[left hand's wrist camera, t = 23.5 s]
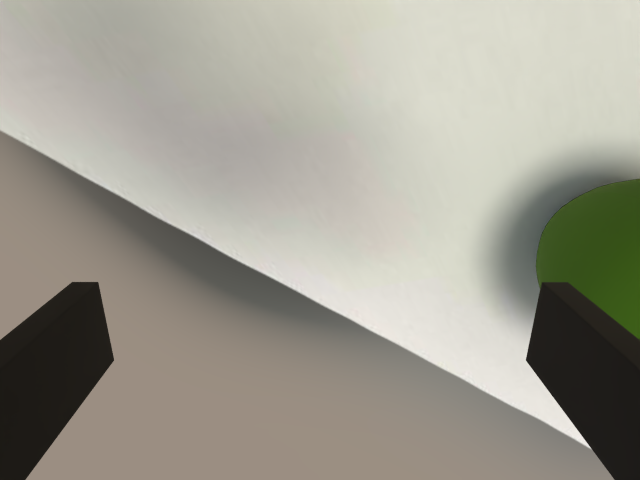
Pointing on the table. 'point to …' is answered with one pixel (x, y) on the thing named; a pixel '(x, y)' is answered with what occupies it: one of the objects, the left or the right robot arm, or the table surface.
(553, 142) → the table surface
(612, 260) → the vase
